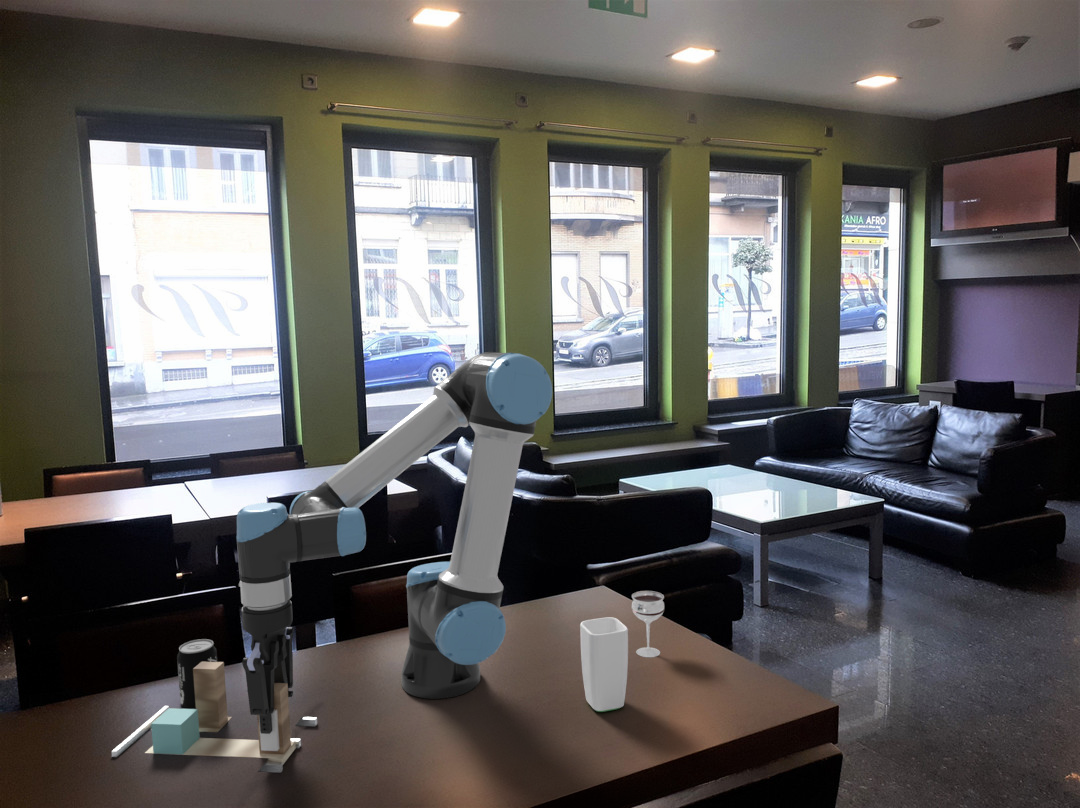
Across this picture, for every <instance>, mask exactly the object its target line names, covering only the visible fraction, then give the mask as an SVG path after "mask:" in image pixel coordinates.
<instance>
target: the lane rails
mask: <svg viewBox="0 0 1080 808" xmlns="http://www.w3.org/2000/svg"><path fill="white" fill-rule="evenodd" d="M169 708H170V706H169V705H164V706H163V707H161V709H159V711H157V712H155V714H153V715H152V716H151V717H150V718H149V719H148V720H146V721H145V722H144V723H143V724H142V725H140V727H138V728H137V729H136V730H135V731H133V732H132V733H131V734H130V735H129V736H128V737H126V738H125V739H124V740H123V741H121V743H119V744H118V745H116V747H115V748H113V750H111V758H112V757H113V758H117V757H118V756H120V755H121V754H122V753H124V751H125V750H127V749H128V748H130V746H131V745H132V744H134V743H135V742H136V741H137V740H138V739H139V738H141V737H142V735H144V734H145V733H146V732H148V730H150V729H152V728H151V723H153V722H154V721H155V720H156V719H157V718H158V717H159V716H161V715H162V714H163V713H164V712H165V711H166V710H168V709H169ZM317 725H318V717H317V716H314V717H313V716H302V717H301V718H300V719H299V720H298V721H297V722H296V723H295V725H294V726H296V727H299V726H300V727H302V726H303V727H316V726H317ZM291 741H295V749H300V747H301V746H302V738H295V737H293V738H291ZM283 765H284V764H283V763H282V762H266V761H265V762H264V764H263V765H262V766H261V767H260V769H259V770H258V773H282V772H283V770H284V766H283Z"/></svg>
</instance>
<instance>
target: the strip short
mask: <svg viewBox="0 0 1080 808" xmlns="http://www.w3.org/2000/svg"><path fill="white" fill-rule="evenodd" d="M225 673H226V670H225V662H224V661H217V662H201V663H199V664H198V665H197V666H196V667H194V668H193V676H194V689H195V703H196V709H198V722H199V733H204V732H205V733H218V732H219V731H220V730H221V729H222V728H223V727H225V725H226V724H227V723H228V722H230V720H231V719H232V718H233V716H229V715H228V702H227V691H226V690H227V689H226V675H225ZM149 730H150V731H152V728H150V729H149Z"/></svg>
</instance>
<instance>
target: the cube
mask: <svg viewBox="0 0 1080 808" xmlns="http://www.w3.org/2000/svg"><path fill="white" fill-rule="evenodd" d="M150 729H152V730H151V738H152V739H151V740H152V746H153V753H159V754H160V755H177V754H184V753H185V752H186V751H187V750H188V749H189V748H190V747H191V746H192V745H193V744H194V743H195V742H196V741H197V740H198V739H199V738H201V737H200V732H199V722H198V709H184V708H175V707H174V708H172V707H171V708H170V707H169V709H168V710H166V711H165V712H164V713H163V714H162V715H161V716H159V717H158V718H157V719H156V720H155V721H154V722H153V723H151V728H150ZM159 754H158V755H159Z"/></svg>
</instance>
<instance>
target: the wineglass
mask: <svg viewBox="0 0 1080 808" xmlns="http://www.w3.org/2000/svg"><path fill="white" fill-rule="evenodd" d="M631 598H632V602H631V610H632V613H633V614H634V616H635V617H636V618H637V619H639V620H641V621H643V622H644V623H645V626H646V629H645V630H646V647H645V646H644V647H640V648H638V649H637V650H636V651H635V653H636V654H637V655H638V656H640V657H643V658H656V657H658V656H660V654H661V651H660V650H659V649H657V648H655V647H650V633H651V632H650V630H651V623H653V622H654V621H657V620H658V619H659V618H660V617H661V616H663V613H664V612H665V602H664V601H663V600H664V599H665V596H664V594H662V593H661V592H658V591H655V590H654V591H653V590H640V591H636V592H634V593H632V594H631Z"/></svg>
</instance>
